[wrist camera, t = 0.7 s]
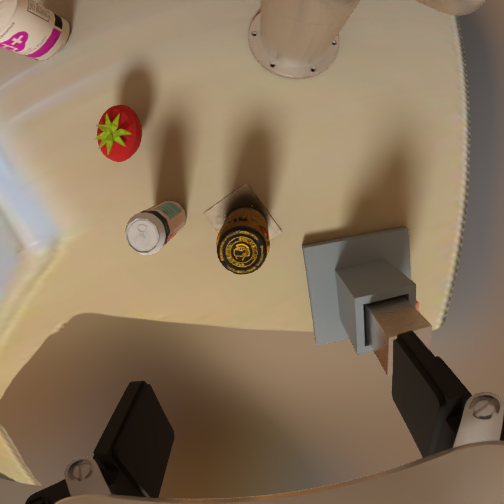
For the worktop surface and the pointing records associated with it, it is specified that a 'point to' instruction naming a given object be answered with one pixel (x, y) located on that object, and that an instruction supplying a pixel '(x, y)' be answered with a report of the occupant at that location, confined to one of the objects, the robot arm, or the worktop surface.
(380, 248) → the sleeve
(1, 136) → the worktop surface
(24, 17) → the supplement can
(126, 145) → the strawberry
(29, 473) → the worktop surface
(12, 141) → the worktop surface
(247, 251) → the condiment
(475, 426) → the robot arm
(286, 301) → the worktop surface
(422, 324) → the block
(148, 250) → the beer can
